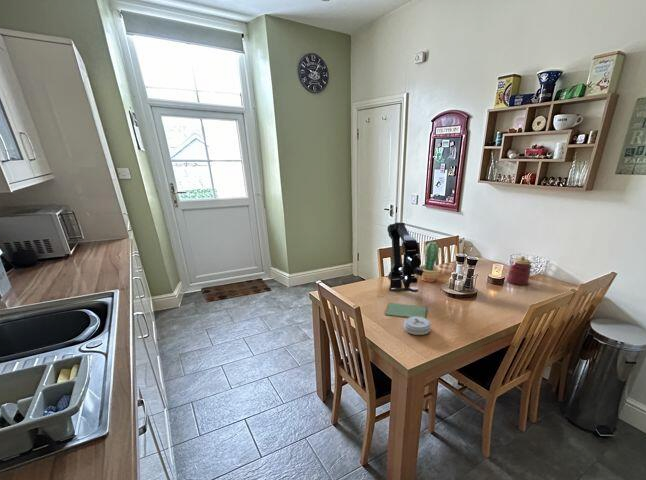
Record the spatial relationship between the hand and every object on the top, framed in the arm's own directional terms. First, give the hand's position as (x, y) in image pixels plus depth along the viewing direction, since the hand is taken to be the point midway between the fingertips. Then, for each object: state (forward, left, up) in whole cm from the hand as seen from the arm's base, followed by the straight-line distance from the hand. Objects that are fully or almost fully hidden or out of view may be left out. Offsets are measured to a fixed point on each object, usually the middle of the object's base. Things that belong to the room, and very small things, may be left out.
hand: (406, 289), depth 183 cm
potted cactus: (+11, +39, -7) cm, 41 cm away
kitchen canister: (+69, +50, -7) cm, 86 cm away
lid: (+9, -33, -7) cm, 35 cm away
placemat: (+2, -14, -7) cm, 16 cm away
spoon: (-1, 0, -1) cm, 1 cm away
